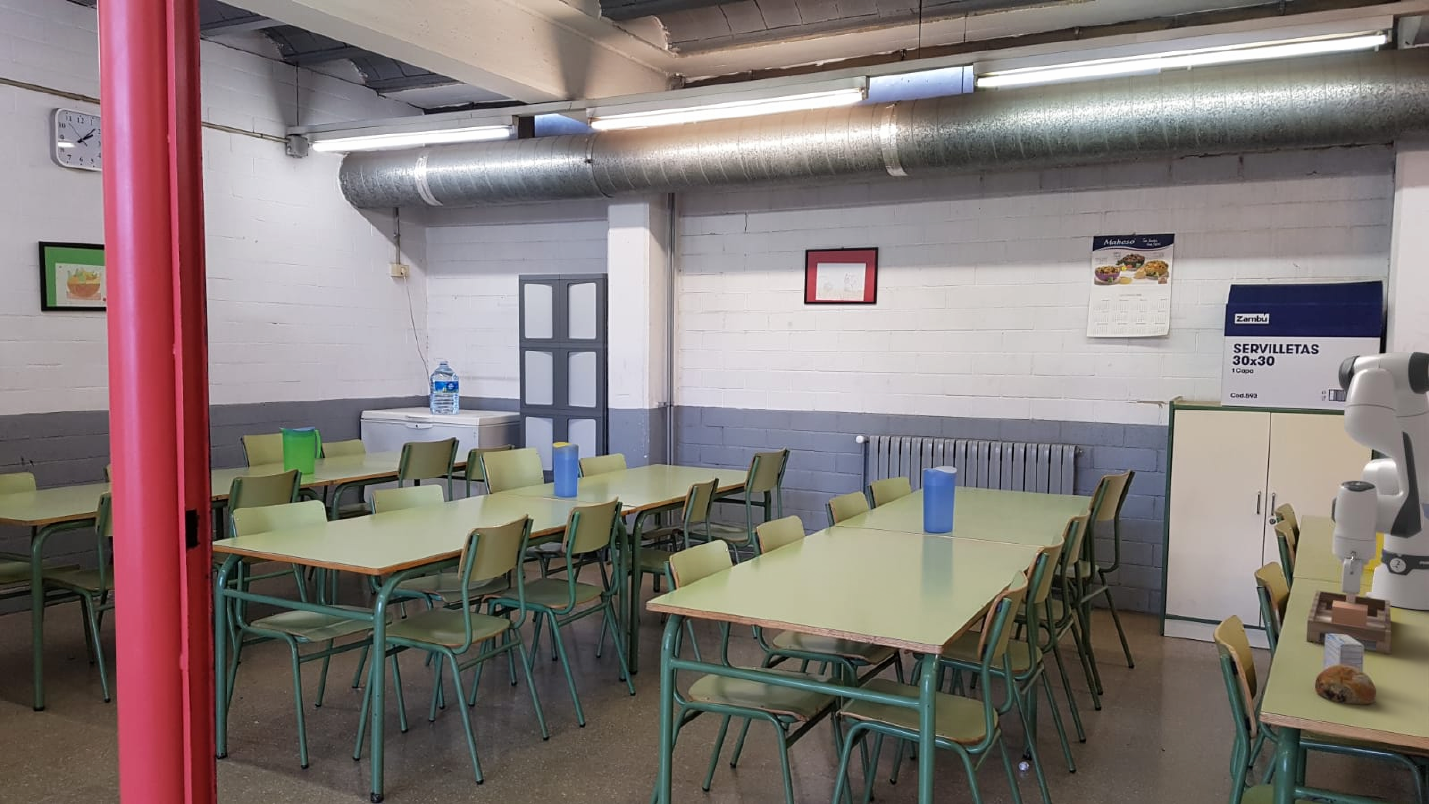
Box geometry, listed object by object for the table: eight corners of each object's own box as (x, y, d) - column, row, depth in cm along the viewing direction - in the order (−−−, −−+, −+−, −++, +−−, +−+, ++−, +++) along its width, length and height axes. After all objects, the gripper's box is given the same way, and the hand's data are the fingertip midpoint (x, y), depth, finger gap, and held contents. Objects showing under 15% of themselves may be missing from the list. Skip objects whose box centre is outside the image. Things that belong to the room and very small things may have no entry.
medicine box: (1362, 688, 199) (1365, 645, 198) (1338, 685, 199) (1340, 643, 199) (1345, 675, 206) (1348, 634, 206) (1322, 673, 207) (1324, 632, 207)
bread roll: (1378, 724, 189) (1397, 686, 189) (1337, 703, 187) (1355, 665, 187) (1338, 705, 199) (1355, 669, 199) (1298, 685, 197) (1315, 649, 197)
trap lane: (1315, 609, 260) (1316, 590, 260) (1388, 620, 252) (1389, 600, 251) (1306, 641, 231) (1307, 619, 230) (1389, 654, 222) (1390, 632, 221)
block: (1332, 618, 242) (1333, 600, 241) (1366, 623, 238) (1367, 605, 238) (1330, 624, 236) (1332, 606, 236) (1366, 630, 232) (1367, 611, 232)
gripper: (1368, 557, 229) (1365, 616, 230) (1370, 544, 246) (1366, 599, 247) (1336, 554, 233) (1333, 612, 234) (1340, 540, 250) (1336, 595, 251)
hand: (1350, 605), depth 241 cm, fingers closed
